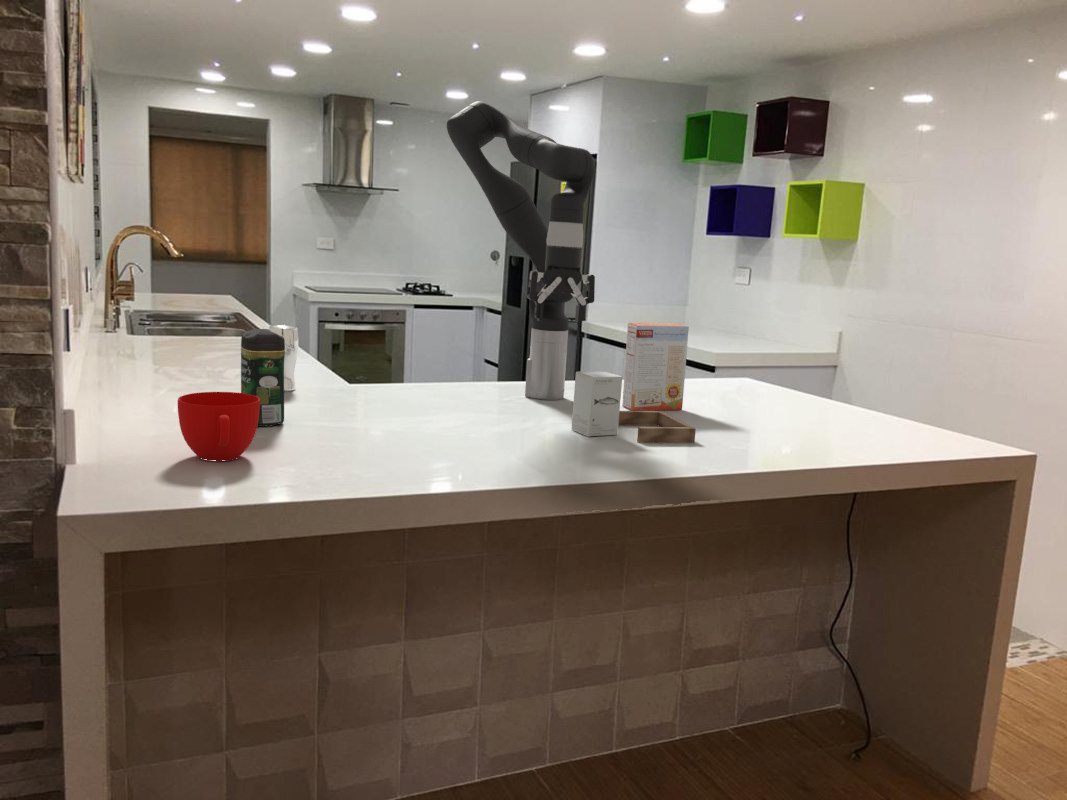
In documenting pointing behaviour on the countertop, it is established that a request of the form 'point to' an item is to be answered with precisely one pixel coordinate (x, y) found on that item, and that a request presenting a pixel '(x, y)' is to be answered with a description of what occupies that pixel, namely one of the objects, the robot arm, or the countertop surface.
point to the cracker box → (655, 366)
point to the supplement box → (596, 403)
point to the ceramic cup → (218, 423)
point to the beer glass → (288, 352)
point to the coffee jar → (264, 373)
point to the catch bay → (666, 433)
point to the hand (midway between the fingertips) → (558, 321)
